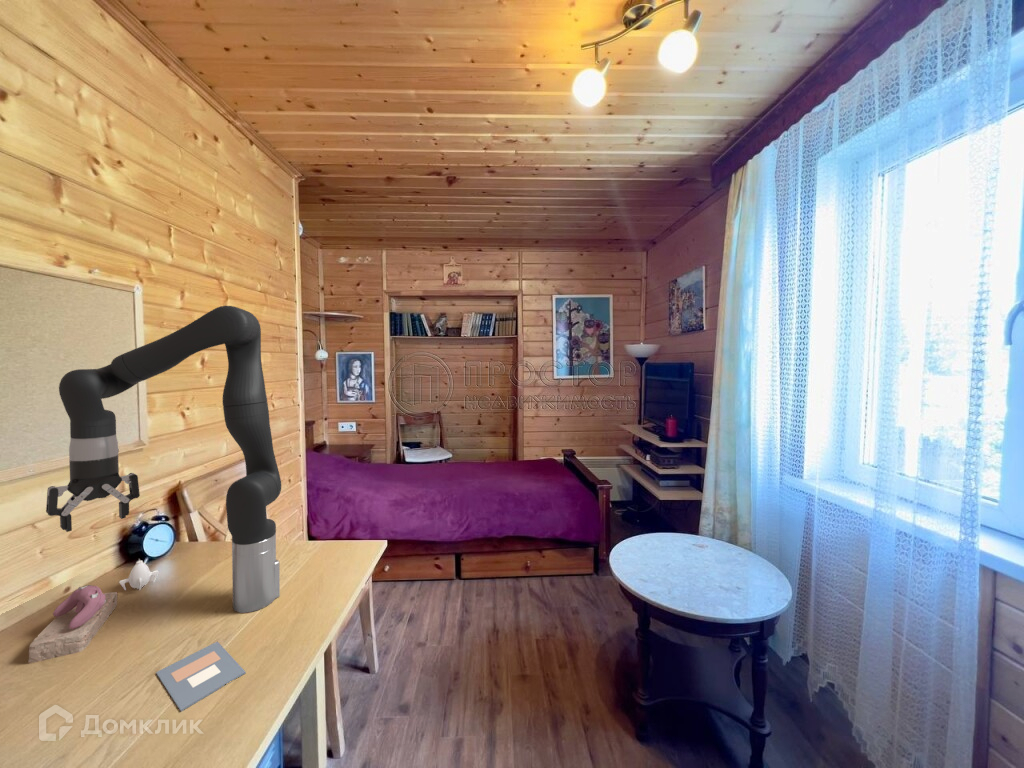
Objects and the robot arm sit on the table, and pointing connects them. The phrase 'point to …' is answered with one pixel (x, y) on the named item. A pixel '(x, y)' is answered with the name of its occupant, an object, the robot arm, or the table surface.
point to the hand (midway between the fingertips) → (96, 523)
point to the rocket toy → (139, 576)
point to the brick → (69, 633)
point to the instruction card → (199, 675)
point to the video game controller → (82, 604)
